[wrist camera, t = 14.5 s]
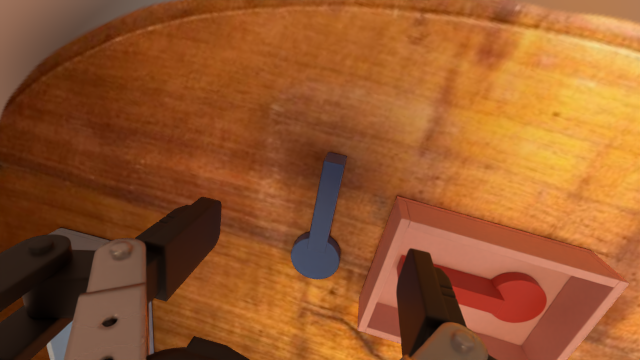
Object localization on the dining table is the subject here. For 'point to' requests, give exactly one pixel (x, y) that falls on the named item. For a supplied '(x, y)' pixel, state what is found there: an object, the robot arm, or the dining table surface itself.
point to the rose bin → (488, 262)
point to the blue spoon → (321, 225)
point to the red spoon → (497, 293)
